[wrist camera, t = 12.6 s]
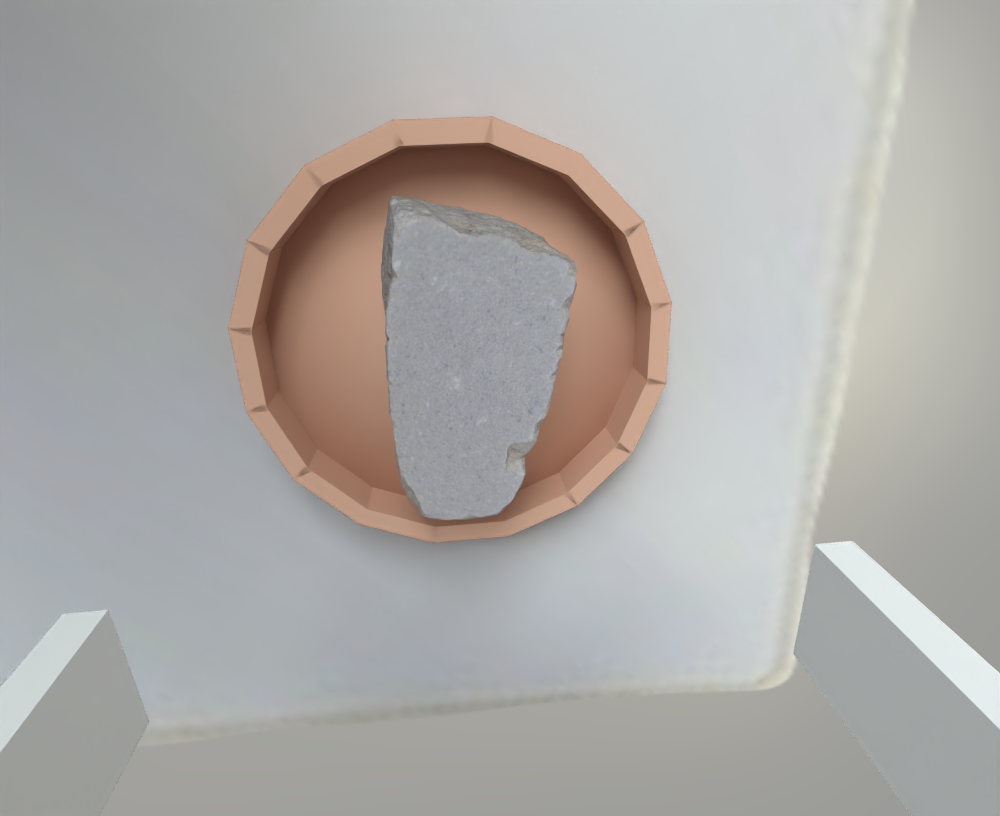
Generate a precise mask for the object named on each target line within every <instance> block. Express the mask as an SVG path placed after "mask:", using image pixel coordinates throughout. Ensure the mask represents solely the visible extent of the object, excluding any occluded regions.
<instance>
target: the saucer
mask: <svg viewBox="0 0 1000 816" xmlns="http://www.w3.org/2000/svg"><path fill="white" fill-rule="evenodd" d="M392 195H397V196H402V197H408V198H416V199H421V200H424V201H427V202H431V203H435V204H439V205H444V206H454V207H461V208H464V209H466V210H470V211H474V212H479V213H485V214H490V215H494V216H497V217H501V218H502V219H504V220H507V221H511V222H514V223H516V224H518V225H520V226H521V227H525V228H527V229H528V230H530V231H532V232H534V233H536V234H538V235H540V236H542V237H544V238H545V240H546V242H547V243H548V245H550V246H551V247H553V248H555V249H557V250H558V251H559V252H561V253H563V254H565V255H567V256H569V258H570V259H571V260H573V261H574V262H575V265H576V269H577V274H576V282H577V286H576V290H575V293H574V297H573V300H572V303H571V306H570V308H569V316H570V319H569V322H568V325H567V328H566V331H565V335H564V343H563V352H562V358H561V360H560V362H559V369H558V372H557V375H556V378H555V381H554V390H553V395H552V399H551V402H550V406H549V410H548V413H547V415H546V418H545V419H544V420H543V421H542V423H541V426H540V429H539V433H538V438H537V441H536V443H535V444H534V446H533V447H532V449H531V450H530V452H529V454H528V455H526V456H525V467H526V474H525V477H524V479H523V484H522V485H521V487H520V489H519V490H518V492H517V494H516V496H515V498H514V499H513V500H512V502H511V503H510V504H509V505H508V506H507V507H506V508H505V509H504V510H503V511H502V512H500V513H499V514H498V515H493V516H489V517H483V518H471V519H465V520H460V519H453V520H440V519H432V518H426V517H424V516H423V515H422V514H421V513H420V512H419V510H418V509H417V507H416V506H415V505H414V504H413V503H412V502H411V501H410V500H409V499H408V498H407V496H406V493H405V490H404V488H403V486H402V484H401V480H400V475H399V470H398V466H397V459H396V455H395V441H394V435H393V424H392V423H393V422H392V417H391V415H390V413H389V394H388V381H387V376H386V371H387V365H386V353H385V345H386V342H387V339H386V334H385V327H386V315H385V309H384V303H383V297H382V281H381V264H382V249H383V237H384V230H385V227H386V222H387V214H388V205H389V199H390V198H391V197H392ZM671 307H672V302H671V299H670V296H669V293H668V290H667V287H666V284H665V281H664V278H663V276H662V273H661V270H660V267H659V264H658V261H657V258H656V255H655V252H654V249H653V246H652V244H651V241H650V238H649V235H648V232H647V229H646V226H645V223H644V221H643V220H642V219H641V218H640V217H639V215H638V214H637V213H636V212H635V211H634V210H633V209H632V208H631V207H630V206H629V205H628V204H627V203H626V201H625V200H624V199H623V198H622V197H621V196H620V195H619V194H618V193H617V192H616V191H615V190H614V189H613V187H612V186H611V185H610V184H609V183H608V182H607V181H606V180H605V179H604V178H603V177H602V176H601V175H600V173H599V172H598V171H597V170H596V169H595V168H594V167H593V166H592V165H591V164H590V163H589V162H588V161H587V159H586V158H585V157H584V156H583V155H582V154H580V153H578V152H576V151H573V150H571V149H569V148H566V147H564V146H561V145H559V144H557V143H554V142H552V141H549V140H547V139H545V138H542V137H540V136H538V135H535V134H533V133H530V132H528V131H526V130H523V129H521V128H518V127H516V126H514V125H511V124H509V123H507V122H504V121H502V120H499V119H497V118H495V117H492V116H488V117H460V118H432V119H404V120H391V121H389V122H387V123H385V124H383V125H381V126H380V127H378V128H376V129H374V130H372V131H370V132H368V133H366V134H364V135H362V136H360V137H358V138H356V139H354V140H352V141H350V142H348V143H347V144H345V145H343V146H341V147H339V148H337V149H335V150H333V151H331V152H329V153H327V154H325V155H323V156H321V157H319V158H317V159H315V160H313V161H312V162H310V163H308V164H306V165H304V167H303V168H302V169H301V170H300V172H299V173H298V174H297V176H296V177H295V178H294V180H293V181H292V182H291V184H290V185H289V186H288V188H287V189H286V190H285V191H284V193H283V194H282V195H281V197H280V198H279V199H278V201H277V202H276V203H275V205H274V206H273V207H272V209H271V210H270V211H269V212H268V214H267V215H266V216H265V218H264V219H263V220H262V222H261V223H260V224H259V226H258V227H257V228H256V230H255V231H254V232H253V233H252V235H251V236H250V237H249V239H248V240H247V243H246V248H245V253H244V257H243V262H242V267H241V271H240V276H239V281H238V285H237V290H236V295H235V299H234V304H233V309H232V314H231V318H230V323H229V328H228V330H229V335H230V339H231V344H232V348H233V353H234V358H235V362H236V367H237V372H238V376H239V381H240V385H241V390H242V395H243V399H244V404H245V408H246V413H247V414H248V416H249V417H250V418H251V420H252V421H253V423H254V424H255V426H256V427H257V428H258V430H259V431H260V433H261V434H262V436H263V437H264V438H265V440H266V441H267V443H268V444H269V446H270V447H271V449H272V450H273V451H274V453H275V454H276V456H277V457H278V459H279V460H280V461H281V463H282V464H283V466H284V467H285V469H286V470H287V471H288V473H289V474H290V476H291V477H292V479H293V480H294V481H296V482H297V483H299V484H300V485H302V486H303V487H305V488H306V489H308V490H309V491H311V492H312V493H314V494H315V495H317V496H318V497H320V498H321V499H323V500H324V501H326V502H327V503H329V504H330V505H332V506H333V507H334V508H336V509H337V510H339V511H340V512H342V513H343V514H345V515H346V516H348V517H349V518H351V519H352V520H354V521H355V522H357V523H358V524H361V525H365V526H369V527H373V528H377V529H381V530H385V531H389V532H393V533H397V534H401V535H405V536H409V537H413V538H416V539H420V540H424V541H428V542H432V543H436V542H448V541H460V540H471V539H483V538H495V537H506V536H510V535H513V534H515V533H517V532H519V531H522V530H524V529H526V528H528V527H531V526H533V525H535V524H537V523H540V522H542V521H544V520H546V519H549V518H551V517H553V516H555V515H558V514H560V513H562V512H564V511H567V510H569V509H571V508H573V507H576V506H578V505H579V504H580V503H581V502H582V501H583V500H584V499H585V498H586V497H587V496H588V495H589V494H590V493H591V492H592V491H593V490H594V489H595V488H597V487H598V486H599V485H600V484H601V483H602V482H603V481H604V480H605V479H606V478H607V477H608V476H609V475H610V474H611V473H612V472H613V471H614V470H615V469H616V468H618V467H619V466H620V465H621V464H622V463H623V462H624V461H625V460H626V459H627V458H628V457H629V456H630V455H631V454H632V453H633V451H634V449H635V447H636V445H637V443H638V441H639V439H640V436H641V434H642V432H643V430H644V428H645V426H646V424H647V422H648V420H649V418H650V416H651V414H652V412H653V410H654V408H655V406H656V403H657V401H658V399H659V397H660V395H661V393H662V391H663V389H664V387H665V385H666V378H667V364H668V350H669V335H670V321H671Z"/></svg>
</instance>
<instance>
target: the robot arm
mask: <svg viewBox="0 0 1000 816" xmlns="http://www.w3.org/2000/svg"><path fill="white" fill-rule="evenodd" d="M793 654H794V655H795V656H796V658H797V659H798V661H799V662H800V663H801V664H802V666H803V667H804V669H805V670H806V671H807V673H808V674H809V675H810V677H811V678H812V679H813V681H814V682H815V684H816V685H817V686H818V688H819V689H820V691H821V692H822V693H823V695H824V696H825V697H826V699H827V700H828V701H829V703H830V704H831V705H832V707H833V708H834V710H835V711H836V712H837V714H838V715H839V717H840V718H841V719H842V721H843V722H844V723H845V725H846V726H847V728H848V729H849V730H850V732H851V733H852V734H853V735H854V737H855V738H856V740H857V741H858V743H859V744H860V745H861V747H862V748H863V749H864V751H865V752H866V754H867V755H868V756H869V758H870V759H871V760H872V762H873V763H874V764H875V766H876V767H877V769H878V770H879V771H880V773H881V774H882V775H883V777H884V778H885V780H886V781H887V782H888V784H889V785H890V786H891V788H892V789H893V790H894V792H895V793H896V795H897V796H898V797H899V799H900V800H901V801H902V803H903V804H904V806H905V807H906V808H907V810H908V811H909V812H910V814H911V815H912V816H1000V673H999V672H998V671H996V670H995V669H994V668H993V667H992V666H991V665H990V664H989V663H987V662H986V661H985V660H984V659H983V658H982V657H981V656H980V655H978V653H976V652H975V651H974V650H973V649H972V648H971V647H970V646H969V645H968V644H966V643H965V642H964V641H963V640H962V639H961V638H960V637H959V636H958V635H956V634H955V633H954V632H953V631H952V630H951V629H950V628H949V627H948V626H946V625H945V624H944V623H943V622H942V621H941V620H940V619H939V618H937V617H936V616H935V615H934V614H933V613H932V612H931V611H930V610H929V609H927V608H926V607H925V606H924V605H923V604H922V603H921V602H920V601H919V600H917V599H916V598H915V597H914V596H913V595H912V594H911V593H910V592H908V591H907V590H906V589H905V588H904V587H903V586H902V585H901V584H900V583H899V582H897V581H896V580H895V579H894V578H893V577H892V576H891V575H890V574H889V573H887V572H886V571H885V570H884V569H883V568H882V567H881V566H879V564H877V563H876V562H875V561H874V560H873V559H872V558H871V557H870V556H869V555H867V554H866V553H865V552H864V551H863V550H862V549H861V548H860V547H858V546H857V545H856V544H855V543H854V542H853V541H847V542H836V543H825V544H815V546H814V551H813V556H812V561H811V566H810V571H809V576H808V582H807V587H806V592H805V597H804V602H803V607H802V612H801V617H800V622H799V627H798V632H797V637H796V642H795V648H794V653H793ZM148 723H149V719H148V717H147V714H146V711H145V709H144V706H143V703H142V700H141V698H140V695H139V692H138V690H137V687H136V684H135V681H134V679H133V676H132V673H131V670H130V668H129V665H128V662H127V660H126V657H125V654H124V651H123V649H122V646H121V643H120V641H119V638H118V635H117V632H116V630H115V627H114V624H113V621H112V619H111V616H110V613H109V611H108V610H99V611H88V612H77V613H66V614H62V615H61V617H60V618H59V619H58V620H57V621H56V623H55V624H54V625H53V626H52V627H51V628H50V630H49V631H48V632H47V633H46V634H45V635H44V637H43V638H42V639H41V640H40V641H39V642H38V644H37V645H36V646H35V647H34V648H33V650H32V651H31V652H30V653H29V654H28V655H27V657H26V658H25V659H24V660H23V661H22V662H21V664H20V665H19V666H18V667H17V668H16V670H15V671H14V672H13V673H12V674H11V675H10V677H9V678H8V679H7V680H6V681H5V682H4V684H3V685H2V686H1V687H0V816H100V814H101V812H102V811H103V809H104V806H105V805H106V803H107V801H108V799H109V797H110V795H111V793H112V791H113V790H114V788H115V786H116V784H117V782H118V780H119V778H120V776H121V774H122V773H123V771H124V769H125V767H126V765H127V763H128V761H129V759H130V757H131V756H132V754H133V752H134V750H135V748H136V746H137V744H138V742H139V740H140V738H141V737H142V735H143V733H144V731H145V729H146V727H147V725H148Z"/></svg>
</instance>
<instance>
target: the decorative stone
mask: <svg viewBox="0 0 1000 816" xmlns="http://www.w3.org/2000/svg"><path fill="white" fill-rule="evenodd" d="M576 274H577V269H576V265H575V262H574V261H573V260H571V259H570V258H569V256H567V255H565V254H563V253H561V252H559V251H558V250H557V249H555V248H553V247H551V246H550V245H548V243H547V242H546V240H545V238H544V237H542V236H540V235H538V234H536V233H534V232H532V231H530V230H528V229H527V228H525V227H521V226H520V225H518V224H516V223H514V222H511V221H507V220H504V219H502V218H501V217H497V216H494V215H490V214H485V213H479V212H474V211H470V210H466V209H464V208H461V207H454V206H444V205H439V204H435V203H431V202H427V201H424V200H421V199H416V198H408V197H402V196H397V195H392V197H391V198H390V199H389V205H388V214H387V222H386V227H385V230H384V237H383V249H382V264H381V281H382V297H383V303H384V309H385V315H386V327H385V334H386V339H387V342H386V345H385V353H386V365H387V371H386V376H387V381H388V394H389V413H390V415H391V417H392V422H393V423H392V424H393V435H394V441H395V455H396V459H397V466H398V470H399V475H400V480H401V484H402V486H403V488H404V490H405V493H406V496H407V498H408V499H409V500H410V501H411V502H412V503H413V504H414V505H415V506H416V507H417V509H418V510H419V512H420V513H421V514H422V515H423V516H424V517H426V518H432V519H440V520H453V519H460V520H465V519H471V518H483V517H489V516H493V515H498V514H499V513H500V512H502V511H503V510H504V509H505V508H506V507H507V506H508V505H509V504H510V503H511V502H512V500H513V499H514V498H515V496H516V494H517V492H518V490H519V489H520V487H521V485H522V484H523V479H524V477H525V474H526V467H525V456H526V455H528V454H529V452H530V450H531V449H532V447H533V446H534V444H535V443H536V441H537V438H538V433H539V429H540V426H541V423H542V421H543V420H544V419H545V418H546V415H547V413H548V410H549V406H550V402H551V399H552V395H553V390H554V381H555V378H556V375H557V372H558V369H559V362H560V360H561V358H562V352H563V343H564V335H565V331H566V328H567V325H568V322H569V319H570V316H569V308H570V306H571V303H572V300H573V297H574V293H575V290H576V286H577V282H576Z"/></svg>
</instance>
